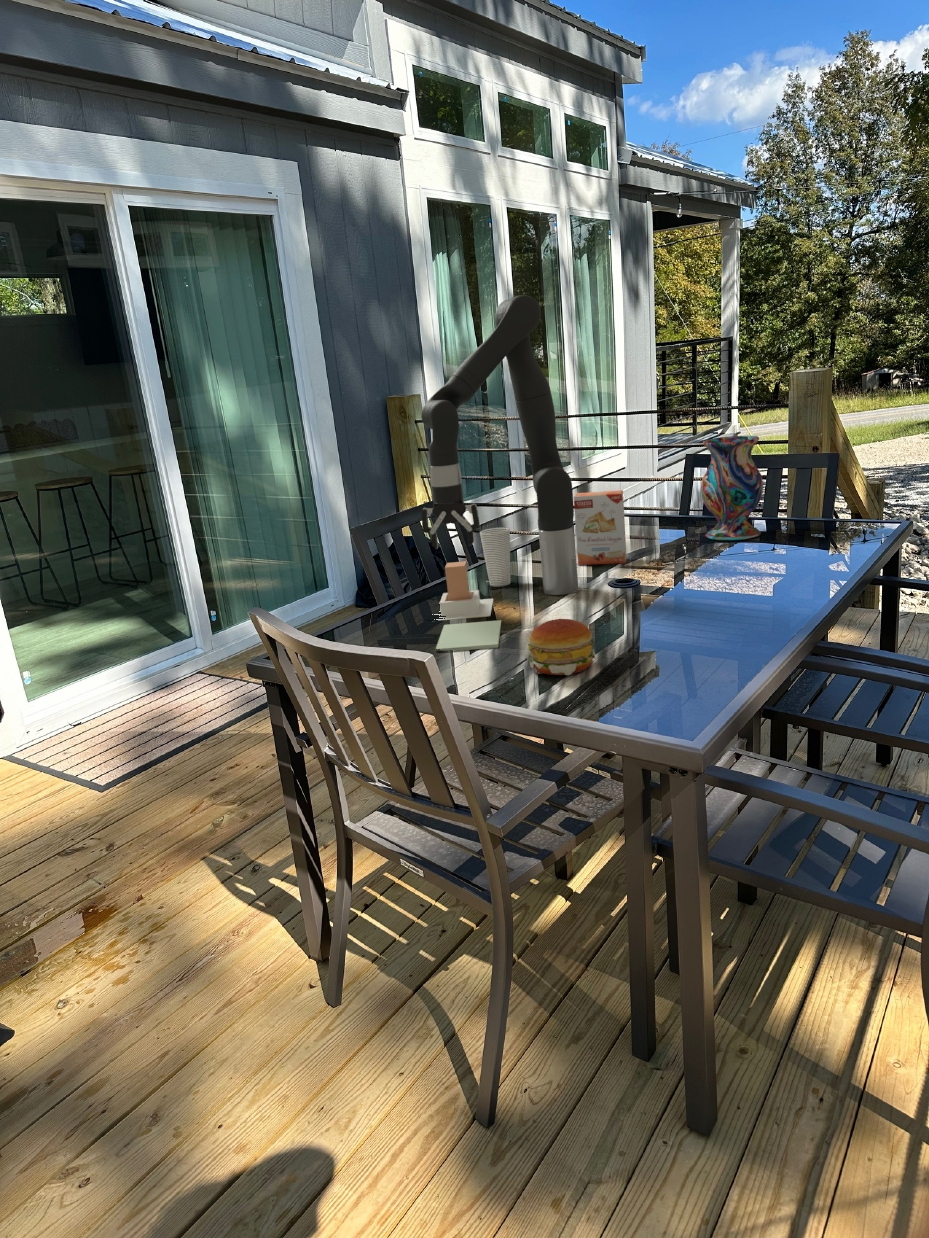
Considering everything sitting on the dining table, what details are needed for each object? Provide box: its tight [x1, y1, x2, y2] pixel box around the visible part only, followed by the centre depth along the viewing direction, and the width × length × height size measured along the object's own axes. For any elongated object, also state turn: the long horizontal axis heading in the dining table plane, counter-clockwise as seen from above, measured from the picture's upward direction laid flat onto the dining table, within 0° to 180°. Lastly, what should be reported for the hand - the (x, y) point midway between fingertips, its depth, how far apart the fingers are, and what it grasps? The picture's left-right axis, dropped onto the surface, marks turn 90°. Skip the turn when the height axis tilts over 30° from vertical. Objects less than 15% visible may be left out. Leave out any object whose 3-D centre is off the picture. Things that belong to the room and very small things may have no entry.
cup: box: [479, 526, 511, 588], centre depth 242 cm, size 8×8×16 cm
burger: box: [527, 618, 597, 676], centre depth 173 cm, size 13×14×10 cm
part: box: [444, 560, 471, 601], centre depth 220 cm, size 5×5×12 cm
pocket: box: [432, 589, 494, 621], centre depth 221 cm, size 16×16×4 cm
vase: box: [700, 435, 764, 541], centre depth 266 cm, size 18×18×30 cm
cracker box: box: [573, 489, 627, 566], centre depth 252 cm, size 14×6×21 cm, turn 76°
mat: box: [435, 619, 502, 651], centre depth 200 cm, size 14×18×1 cm
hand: (453, 547), depth 217 cm, fingers open, 8 cm apart
